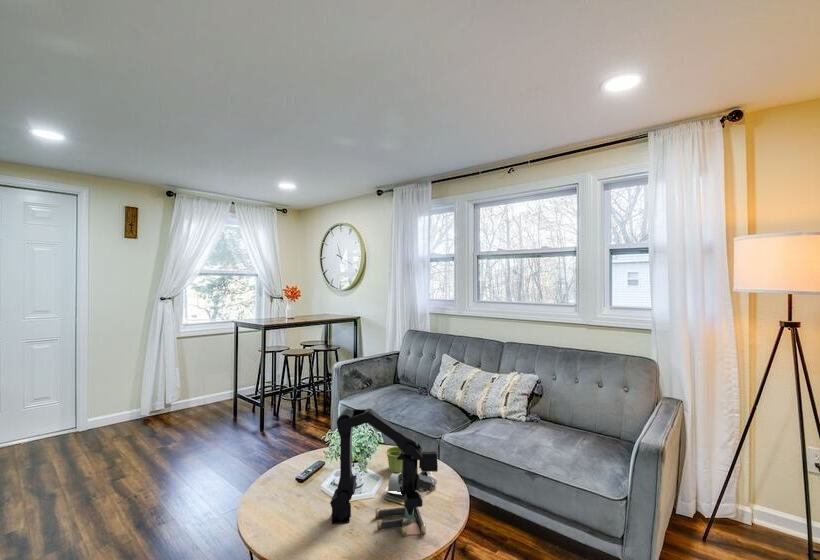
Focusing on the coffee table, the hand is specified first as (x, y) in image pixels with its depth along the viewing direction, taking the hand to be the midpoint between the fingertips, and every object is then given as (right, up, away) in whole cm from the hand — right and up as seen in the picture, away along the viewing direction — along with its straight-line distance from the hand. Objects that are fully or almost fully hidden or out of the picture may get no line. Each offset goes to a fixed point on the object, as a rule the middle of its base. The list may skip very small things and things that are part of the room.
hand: (409, 512), depth 143 cm
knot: (+8, -3, +24) cm, 25 cm away
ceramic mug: (-4, -3, +19) cm, 20 cm away
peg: (0, -2, 0) cm, 2 cm away
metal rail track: (-3, -3, -3) cm, 5 cm away
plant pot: (-6, -3, +37) cm, 38 cm away
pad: (+1, -3, -5) cm, 6 cm away
